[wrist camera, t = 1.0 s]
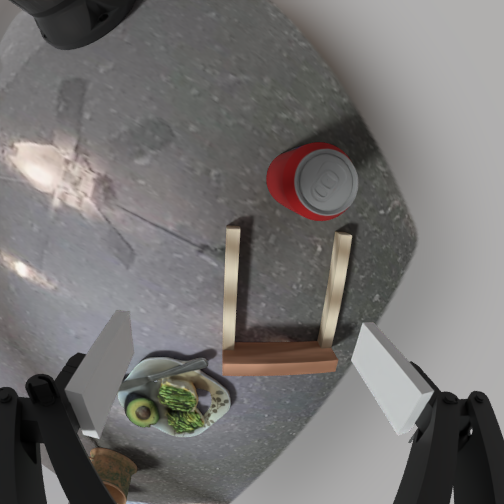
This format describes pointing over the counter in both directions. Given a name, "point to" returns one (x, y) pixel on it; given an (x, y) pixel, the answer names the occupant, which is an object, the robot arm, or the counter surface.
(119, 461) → the mug
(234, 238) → the guide channel
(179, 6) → the counter surface
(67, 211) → the counter surface
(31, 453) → the robot arm
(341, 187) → the beverage can
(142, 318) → the counter surface
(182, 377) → the avocado toast plate
